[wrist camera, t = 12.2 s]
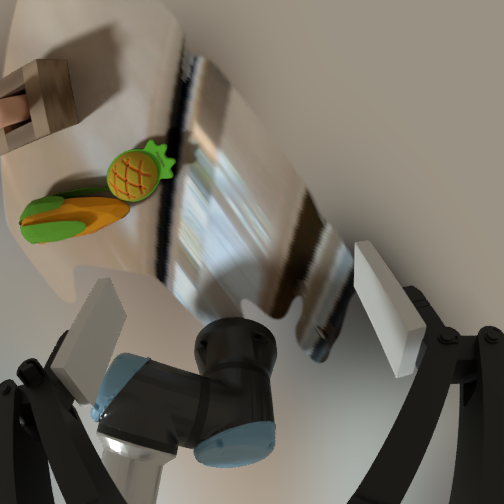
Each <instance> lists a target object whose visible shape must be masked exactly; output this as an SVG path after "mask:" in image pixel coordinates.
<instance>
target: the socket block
mask: <svg viewBox="0 0 504 504" xmlns="http://www.w3.org/2000/svg"><path fill="white" fill-rule="evenodd" d="M24 94H26V95H27V100H28V105H29V110H30V115H31V119H28V120H24V121H21V122H18V123H15V124H12V125H9V126H6V127H3V128H0V156H1V155H3V154H6V153H8V152H10V151H12V150H15V149H17V148H19V147H22V146H24V145H27V144H29V143H31V142H33V141H36V140H38V139H40V138H43V137H45V136H48V135H50V134H53V133H55V132H58V131H60V130H63V129H65V128H68V127H71V126H73V125H76V124H79V122H78V117H77V113H76V108H75V103H74V98H73V93H72V88H71V83H70V77H69V71H68V65H67V60H52V59H35V60H34V61H32V62H30V63H28V64H26V65H24V66H23V67H21V68H19V69H17V70H16V71H14V72H12V73H11V74H9V75H7V76H6V77H4V78H3V79H1V80H0V99H4V98H9V97H13V96H19V95H24Z"/></svg>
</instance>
